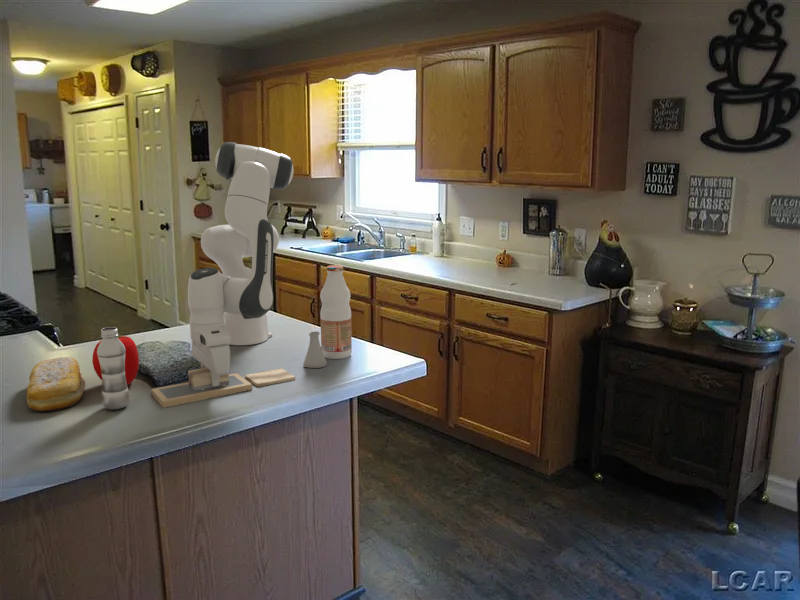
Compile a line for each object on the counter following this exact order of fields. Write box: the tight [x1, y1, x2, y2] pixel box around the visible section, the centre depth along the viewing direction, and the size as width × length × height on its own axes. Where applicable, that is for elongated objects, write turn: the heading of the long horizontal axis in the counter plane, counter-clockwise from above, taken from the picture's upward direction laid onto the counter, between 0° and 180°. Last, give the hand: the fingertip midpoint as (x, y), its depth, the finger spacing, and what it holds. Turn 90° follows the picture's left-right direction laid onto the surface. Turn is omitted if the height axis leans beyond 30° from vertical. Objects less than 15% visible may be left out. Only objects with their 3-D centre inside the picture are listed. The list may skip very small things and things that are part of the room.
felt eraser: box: [187, 367, 229, 391], centre depth 173 cm, size 5×9×4 cm, turn 124°
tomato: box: [92, 334, 140, 386], centre depth 176 cm, size 13×11×14 cm
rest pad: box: [244, 367, 296, 388], centre depth 183 cm, size 9×11×1 cm
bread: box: [26, 356, 86, 413], centre depth 170 cm, size 13×26×8 cm, turn 28°
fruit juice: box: [319, 264, 353, 360], centre depth 202 cm, size 9×9×28 cm
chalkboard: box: [151, 372, 253, 408], centre depth 173 cm, size 11×23×2 cm, turn 124°
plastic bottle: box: [97, 326, 131, 411], centre depth 160 cm, size 6×7×20 cm
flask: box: [302, 330, 328, 369], centre depth 194 cm, size 7×7×10 cm
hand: (211, 381), depth 174 cm, fingers closed on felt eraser, 5 cm apart
